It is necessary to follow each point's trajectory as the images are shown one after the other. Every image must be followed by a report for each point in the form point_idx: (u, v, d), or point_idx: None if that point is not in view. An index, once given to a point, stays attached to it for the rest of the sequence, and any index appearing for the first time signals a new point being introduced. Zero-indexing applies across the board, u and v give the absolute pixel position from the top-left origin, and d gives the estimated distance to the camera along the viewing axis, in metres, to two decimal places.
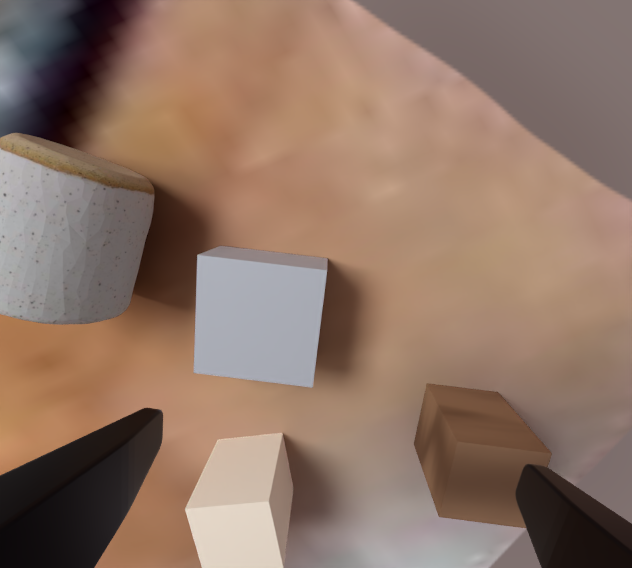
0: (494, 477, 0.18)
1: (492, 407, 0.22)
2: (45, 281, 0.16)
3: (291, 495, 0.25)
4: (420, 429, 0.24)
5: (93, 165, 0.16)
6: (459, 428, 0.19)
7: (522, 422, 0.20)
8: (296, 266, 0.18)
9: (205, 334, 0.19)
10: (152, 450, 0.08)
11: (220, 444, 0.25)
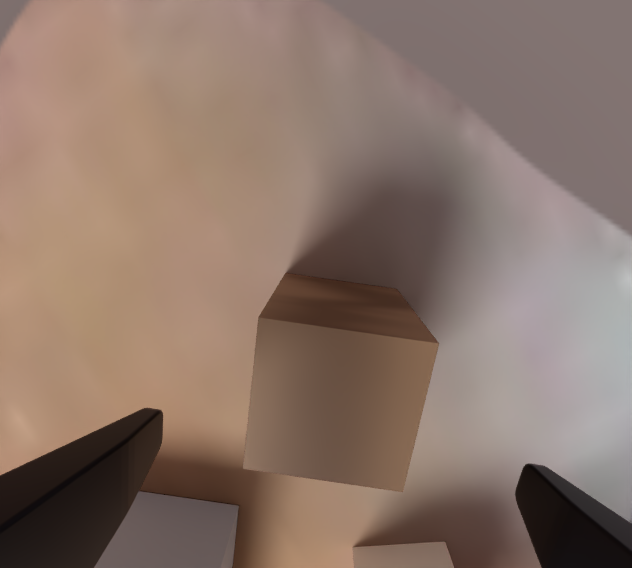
0: (314, 410, 0.10)
1: None
2: None
3: (444, 561, 0.17)
4: None
5: None
6: None
7: None
8: None
9: None
10: (152, 450, 0.08)
11: None
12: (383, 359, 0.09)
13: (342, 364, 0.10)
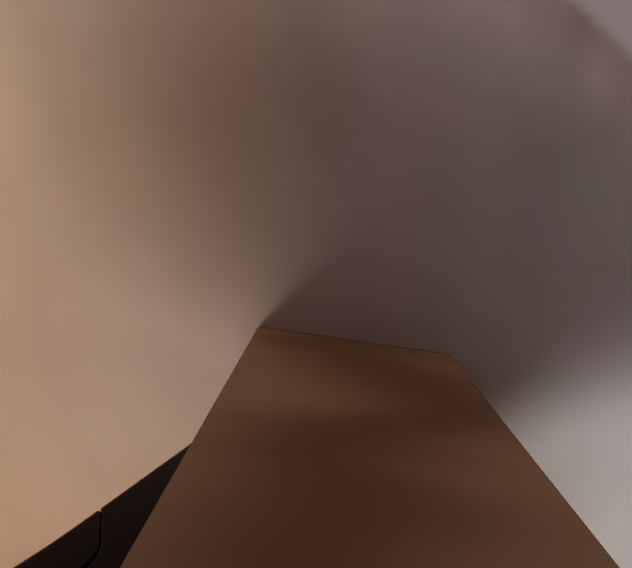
0: None
1: None
2: None
3: None
4: None
5: None
6: None
7: None
8: None
9: None
10: None
11: None
12: None
13: None
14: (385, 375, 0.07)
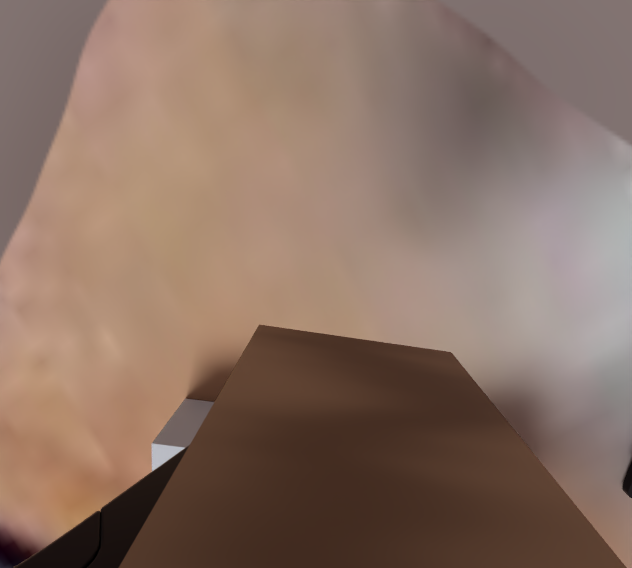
0: None
1: None
2: None
3: None
4: None
5: None
6: None
7: None
8: None
9: None
10: None
11: None
12: None
13: None
14: (386, 372, 0.07)
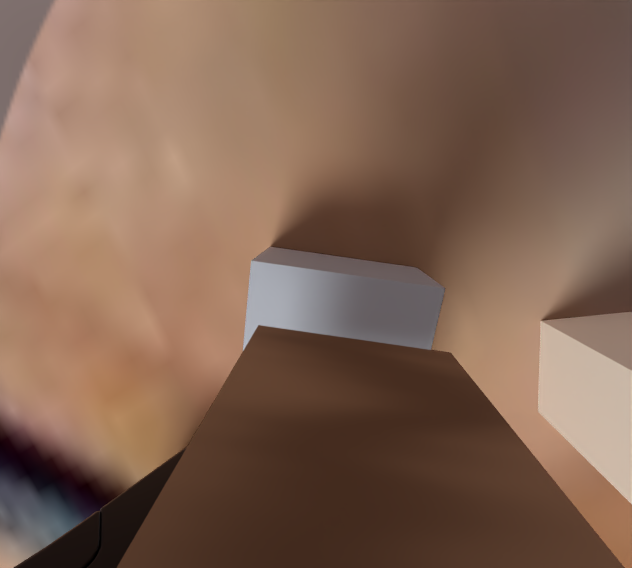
0: None
1: None
2: None
3: None
4: None
5: None
6: None
7: None
8: None
9: None
10: None
11: (545, 412, 0.17)
12: None
13: None
14: (385, 373, 0.07)
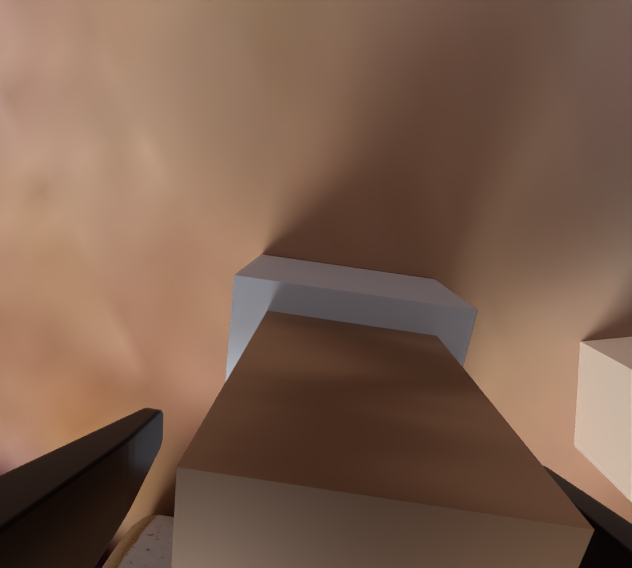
0: None
1: None
2: None
3: None
4: None
5: None
6: None
7: None
8: None
9: None
10: (152, 450, 0.08)
11: (585, 447, 0.14)
12: (460, 559, 0.04)
13: (369, 565, 0.04)
14: (378, 349, 0.08)
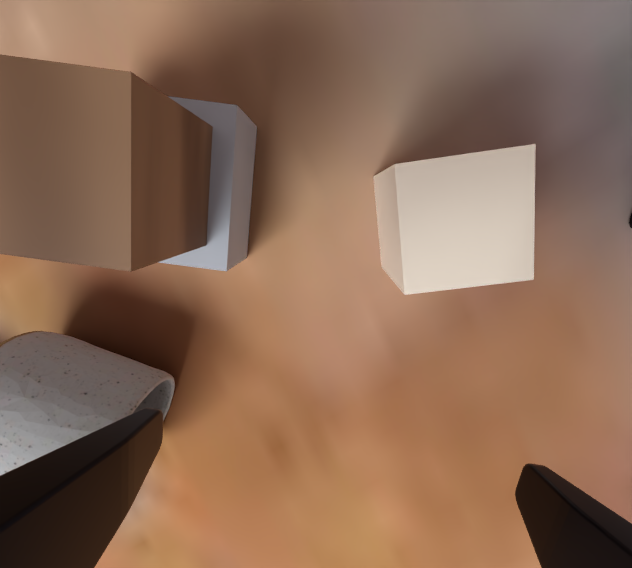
0: (14, 167, 0.09)
1: None
2: (53, 443, 0.14)
3: None
4: None
5: None
6: None
7: None
8: None
9: None
10: (152, 450, 0.08)
11: (382, 262, 0.19)
12: (74, 96, 0.08)
13: (32, 105, 0.08)
14: None
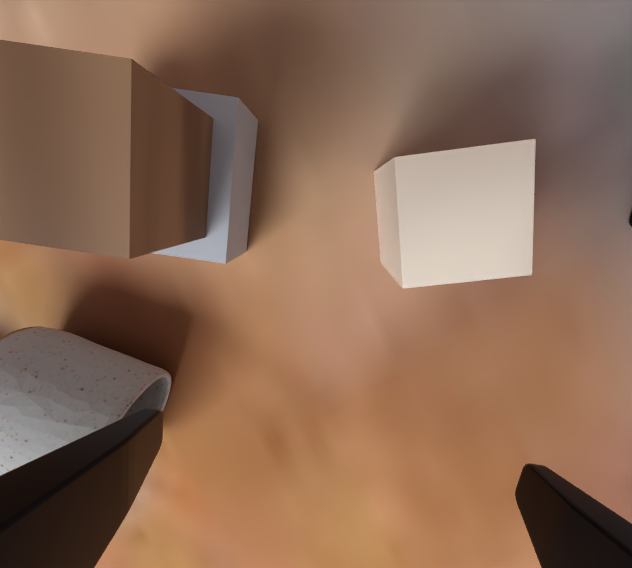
0: (14, 152, 0.09)
1: None
2: (49, 438, 0.15)
3: None
4: None
5: None
6: None
7: None
8: None
9: None
10: (152, 450, 0.08)
11: (381, 257, 0.19)
12: (74, 82, 0.08)
13: (33, 91, 0.09)
14: None
